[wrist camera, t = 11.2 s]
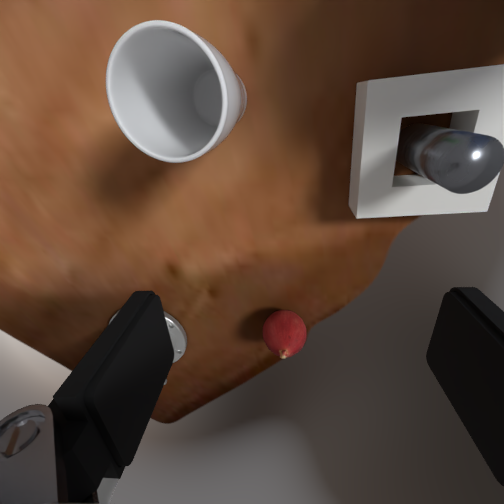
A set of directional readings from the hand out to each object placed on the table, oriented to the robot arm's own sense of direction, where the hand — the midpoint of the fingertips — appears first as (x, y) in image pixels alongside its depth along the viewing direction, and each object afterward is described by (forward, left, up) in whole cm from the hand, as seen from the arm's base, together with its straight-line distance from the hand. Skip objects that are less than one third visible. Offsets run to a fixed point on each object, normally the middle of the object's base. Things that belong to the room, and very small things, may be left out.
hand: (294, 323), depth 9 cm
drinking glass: (+7, +6, -24) cm, 26 cm away
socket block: (+1, -13, -24) cm, 27 cm away
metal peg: (+1, -13, -24) cm, 27 cm away
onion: (-21, +1, -24) cm, 32 cm away
